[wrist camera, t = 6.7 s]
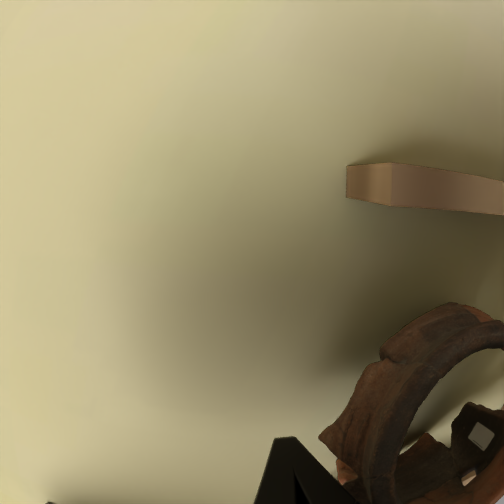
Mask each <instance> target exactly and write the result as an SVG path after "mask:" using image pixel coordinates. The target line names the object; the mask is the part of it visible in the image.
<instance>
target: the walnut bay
mask: <svg viewBox="0 0 504 504" xmlns="http://www.w3.org/2000/svg"><path fill="white" fill-rule="evenodd" d="M346 197H347V198H352V199H358V200H363V201H368V202H373V203H378V204H383V205H388V206H399V207H415V208H429V209H442V210H454V211H466V212H476V213H486V214H496V215H504V182H503V181H499V180H494V179H490V178H485V177H480V176H475V175H470V174H465V173H459V172H454V171H448V170H442V169H436V168H429V167H422V166H415V165H408V164H400V163H378V164H365V165H353V166H347V184H346ZM501 410H503V411H504V405H503V407H502V409H501ZM475 476H476V472H475V470H474V471H472V472H470V473H469V474H467V475H466V476H465V477H462V479H461V480H462V483H463V485H464V486H465V485H467V484H468V483H469V482H470V481H471V480H472V479H473V478H474V477H475ZM339 483H340V482H339ZM340 484H341V483H340ZM341 485H343V484H341Z"/></svg>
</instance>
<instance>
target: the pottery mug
mask: <svg viewBox="0 0 504 504" xmlns="http://www.w3.org/2000/svg"><path fill="white" fill-rule="evenodd" d="M487 348H491V349H495V348H501V349H502V350H503V351H504V324H503V323H502V322H501V321H499V320H493V319H492V318H491V317H490V316H489V315H487V314H486V313H484V312H482V311H481V310H479V309H476V308H474V307H471V306H467V305H460V304H458V303H453V302H449V303H447V304H444V305H442V306H439V307H436V308H435V309H433V310H431V311H429V312H427V313H425V314H424V315H422V316H420V317H418V318H417V319H415V320H413V321H412V322H411V323H409V324H407V325H406V326H405V327H404V328H402V329H401V330H400V331H399V332H398V333H396V334H395V335H394V336H392V337H391V338H389V339H388V340H387V341H386V342H385V343H384V344H383V345H382V346H381V348H380V358H381V361H379V362H375V363H371V364H369V365H368V366H367V367H366V368H365V370H364V372H363V373H362V375H361V377H360V379H359V380H358V382H357V384H356V387H355V390H354V393H353V395H352V397H351V398H350V401H349V403H348V405H347V406H346V408H345V410H344V411H343V413H342V414H341V415H340V416H339V418H338V419H337V420H336V421H335V422H334V423H333V424H332V425H330V426H328V427H327V428H326V429H325V430H324V431H323V432H322V433H321V434H320V435H319V436H318V439H319V440H320V441H322V442H323V443H324V444H325V445H326V446H327V447H328V449H329V450H330V451H331V452H332V453H333V454H334V455H335V456H336V457H337V458H339V459H338V460H337V461H336V465H337V472H338V480H339V482H340V483H341V484H343V485H342V486H343V487H344V488H345V489H346V490H347V491H348V492H349V493H350V494H351V495H352V496H353V497H354V498H355V499H356V501H358V502H359V503H360V504H495V503H496V502H497V501H498V500H499V499H500V498H501V497H502V496H503V495H504V411H503V410H491V409H489V408H486V407H484V406H483V405H481V404H480V405H476V404H474V403H472V402H467V403H466V404H465V405H464V407H463V408H462V410H461V412H460V413H459V415H458V416H457V417H456V418H455V419H454V421H453V422H452V424H451V428H452V434H451V448H448V447H446V446H445V445H444V444H443V443H441V442H437V441H436V440H435V439H434V438H433V437H432V436H431V435H430V434H428V433H424V434H423V435H422V436H421V437H420V438H419V439H418V441H417V442H416V443H415V444H414V445H412V446H411V447H410V448H409V449H408V450H407V451H405V452H404V453H402V454H400V455H399V453H400V451H401V447H402V444H403V442H404V438H405V436H406V433H407V431H408V428H409V426H410V424H411V422H412V420H413V418H414V416H415V414H416V412H417V410H418V408H419V407H420V405H421V404H422V403H423V401H424V400H425V399H426V397H427V396H428V394H429V393H430V391H431V390H432V389H433V387H434V386H435V385H436V384H437V383H438V381H439V380H440V379H441V378H443V377H444V376H445V375H446V374H447V373H448V372H449V371H450V370H451V369H452V368H453V367H454V366H455V365H456V364H457V363H459V362H460V361H462V360H463V359H464V358H466V357H468V356H469V355H471V354H473V353H475V352H478V351H480V350H484V349H487ZM398 455H399V456H398ZM474 470H475V472H476V476H475V477H474V478H473V479H472V480H471V481H470V482H469V483H468V484H467V485H465V486H464V485H463V483H462V480H461V479H462V477H465V476H466V475H467V474H469V473H470V472H472V471H474ZM356 501H355V502H356Z"/></svg>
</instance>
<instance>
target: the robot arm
mask: <svg viewBox="0 0 504 504" xmlns="http://www.w3.org/2000/svg"><path fill="white" fill-rule="evenodd" d="M355 501H356V499H355V498H354V497H353V496H352V495H351V494H350V493H349V492H348V491H347V490H346V489H345V488H344V487H343V486H342V485H341V484H340V483H339V482H338V481H337V480H336V479H335V478H334V477H333V476H332V475H331V474H330V473H329V472H328V471H327V470H326V469H325V468H324V467H323V466H322V465H321V464H320V463H319V462H318V461H317V460H316V459H315V457H314V456H313V455H312V454H311V453H310V452H309V451H308V450H307V449H306V448H305V447H304V446H303V445H302V443H301V442H300V441H299V440H298V439H297V438H296V437H294V436H291V437H280V438H275V439H274V440H273V444H272V447H271V450H270V454H269V457H268V460H267V464H266V467H265V470H264V473H263V476H262V480H261V483H260V486H259V489H258V492H257V495H256V498H255V501H254V504H360V503H359V502H358V501H356V502H355ZM46 504H48V503H46Z"/></svg>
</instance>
